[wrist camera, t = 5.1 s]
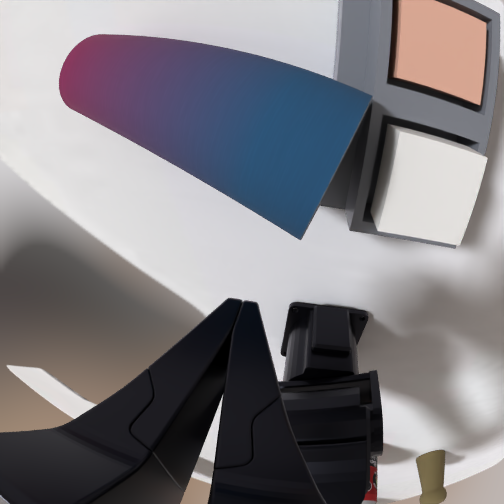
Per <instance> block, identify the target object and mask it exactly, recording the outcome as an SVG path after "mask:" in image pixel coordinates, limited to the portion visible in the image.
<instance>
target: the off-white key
mask: <svg viewBox="0 0 504 504" xmlns="http://www.w3.org/2000/svg"><path fill="white" fill-rule="evenodd" d="M487 159H488V158H487V157H485V156H484V155H482V154H480V153H479V152H477V151H475V150H473V149H472V148H470V147H468V146H465V145H462V144H459V143H456V142H453V141H450V140H447V139H444V138H440V137H437V136H434V135H430V134H427V133H423V132H419V131H416V130H412V129H408V128H404V127H400V126H396V125H391V124H388V125H387V131H386V137H385V143H384V148H383V154H382V159H381V164H380V169H379V174H378V179H377V184H376V188H375V193H374V197H373V202H372V206H371V210H370V212H371V215H372V217H373V220H374V223H375V225H376V228H377V231H381V232H387V233H392V234H398V235H404V236H410V237H415V238H421V239H426V240H432V241H437V242H443V243H448V244H453V245H458V246H460V244H461V241H462V238H463V236H464V233H465V231H466V228H467V225H468V222H469V219H470V217H471V214H472V211H473V208H474V205H475V201H476V198H477V195H478V192H479V188H480V185H481V181H482V178H483V174H484V171H485V167H486V163H487Z"/></svg>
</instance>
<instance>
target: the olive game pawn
mask: <svg viewBox="0 0 504 504" xmlns="http://www.w3.org/2000/svg"><path fill="white" fill-rule="evenodd" d="M416 463H417V468H418V473H419V477H420V482H421V487H422V494H421V496H420V504H439V503H441V502H442V501H444V500H445V498H446V495H447V492H446V489H445V488H444V487H443V484H444V468H445V451H444V450H436V451H432V452H429V453H426V454H423V455H421V456H419V457H418V458H416Z"/></svg>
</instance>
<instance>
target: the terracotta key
mask: <svg viewBox="0 0 504 504" xmlns="http://www.w3.org/2000/svg"><path fill="white" fill-rule="evenodd" d="M485 53H486V23H485V22H483V21H481V20H479V19H477V18H475V17H473V16H471V15H469V14H466V13H464V12H462V11H460V10H457V9H455V8H453V7H450V6H448V5H445V4H443V3H440V2H438V1H435V0H392V25H391V42H390V55H389V66H388V75H387V78H390V79H394V80H398V81H402V82H406V83H409V84H413V85H416V86H420V87H423V88H426V89H429V90H433V91H436V92H439V93H442V94H445V95H448V96H450V97H453V98H456V99H459V100H461V101H465V102H469V103H473V104H477V105H480V103H481V95H482V87H483V78H484V67H485Z"/></svg>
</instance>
